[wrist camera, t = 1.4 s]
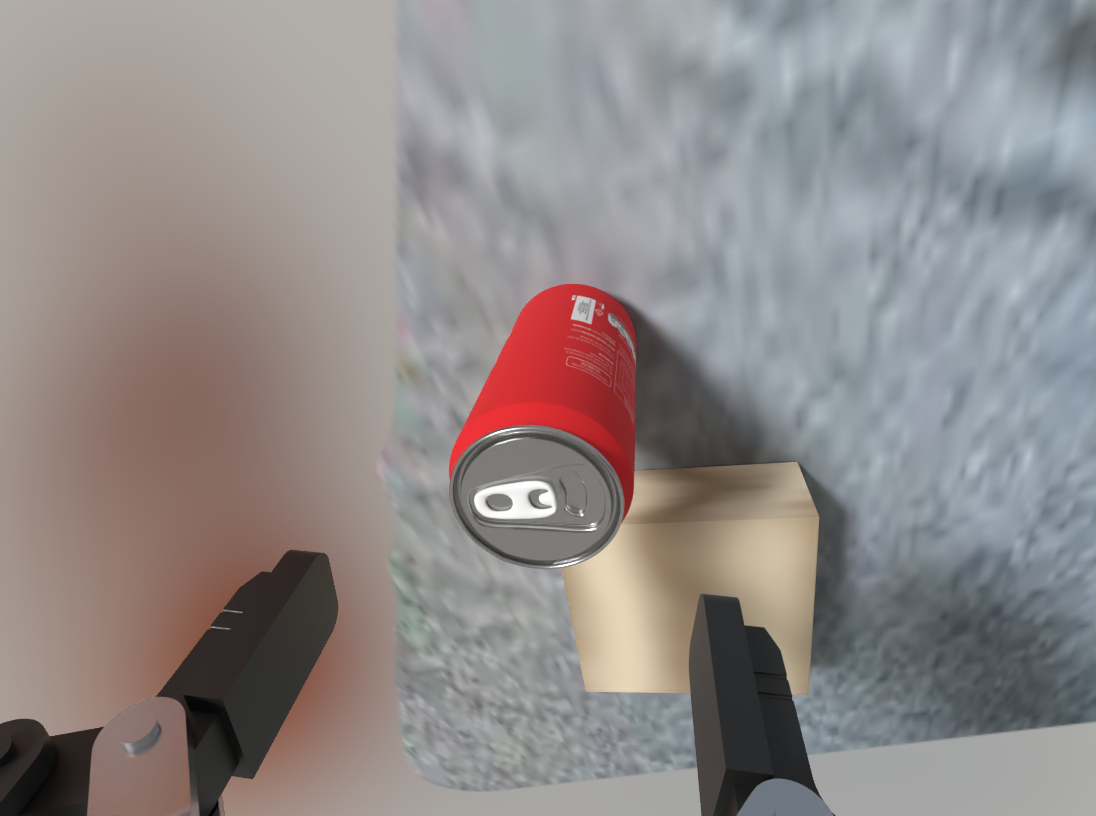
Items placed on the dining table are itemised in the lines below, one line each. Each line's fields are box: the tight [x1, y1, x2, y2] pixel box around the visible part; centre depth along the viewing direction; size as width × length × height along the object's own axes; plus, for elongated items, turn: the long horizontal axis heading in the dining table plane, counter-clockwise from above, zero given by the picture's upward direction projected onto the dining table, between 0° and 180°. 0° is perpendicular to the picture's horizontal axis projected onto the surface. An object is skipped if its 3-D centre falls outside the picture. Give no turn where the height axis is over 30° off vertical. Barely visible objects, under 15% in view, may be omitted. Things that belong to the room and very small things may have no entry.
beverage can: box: [449, 284, 636, 569], centre depth 21 cm, size 5×5×12 cm
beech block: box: [562, 462, 819, 695], centre depth 30 cm, size 11×11×4 cm
